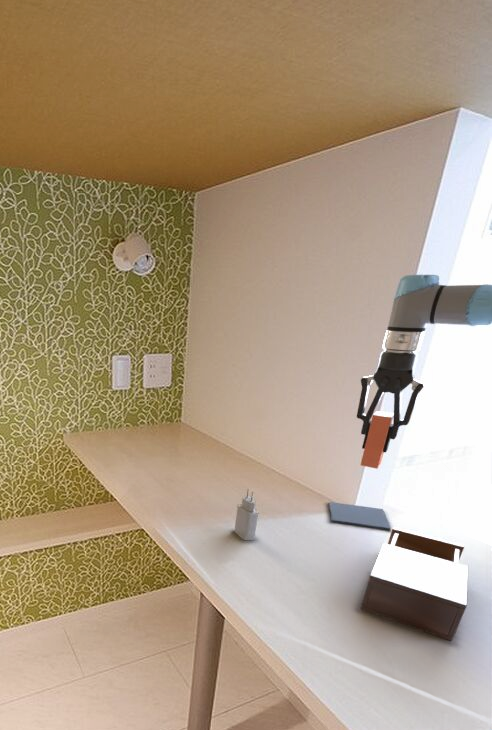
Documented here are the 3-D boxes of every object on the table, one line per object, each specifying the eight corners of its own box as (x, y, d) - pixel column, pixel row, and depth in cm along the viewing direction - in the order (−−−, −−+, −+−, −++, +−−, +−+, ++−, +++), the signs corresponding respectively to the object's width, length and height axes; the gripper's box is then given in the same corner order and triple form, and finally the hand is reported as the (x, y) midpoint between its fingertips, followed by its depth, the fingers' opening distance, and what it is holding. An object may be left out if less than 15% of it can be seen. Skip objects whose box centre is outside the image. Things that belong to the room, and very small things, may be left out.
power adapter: (244, 540, 104) (251, 495, 99) (233, 530, 109) (238, 486, 104) (255, 538, 105) (262, 493, 100) (244, 528, 110) (249, 485, 105)
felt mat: (382, 510, 121) (382, 509, 120) (390, 530, 110) (390, 528, 110) (328, 503, 125) (329, 501, 124) (331, 521, 114) (331, 519, 114)
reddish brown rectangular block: (364, 460, 114) (376, 410, 108) (380, 463, 112) (394, 413, 106) (360, 465, 110) (372, 414, 105) (377, 468, 108) (391, 417, 103)
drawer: (389, 541, 103) (395, 520, 101) (456, 559, 96) (464, 537, 94) (376, 575, 90) (383, 552, 88) (452, 599, 83) (462, 574, 81)
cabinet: (374, 573, 93) (383, 542, 89) (455, 598, 85) (468, 566, 82) (360, 608, 82) (370, 575, 79) (451, 641, 74) (466, 605, 71)
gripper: (356, 349, 101) (335, 446, 111) (442, 355, 92) (411, 460, 102) (363, 347, 106) (342, 439, 117) (444, 352, 98) (414, 452, 108)
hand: (374, 448), depth 109 cm, fingers closed on reddish brown rectangular block, 4 cm apart
